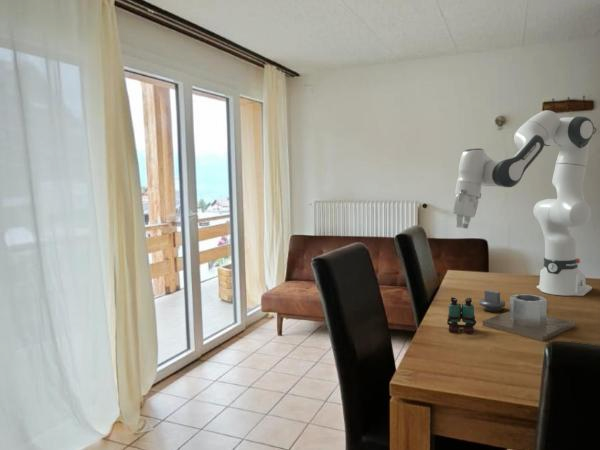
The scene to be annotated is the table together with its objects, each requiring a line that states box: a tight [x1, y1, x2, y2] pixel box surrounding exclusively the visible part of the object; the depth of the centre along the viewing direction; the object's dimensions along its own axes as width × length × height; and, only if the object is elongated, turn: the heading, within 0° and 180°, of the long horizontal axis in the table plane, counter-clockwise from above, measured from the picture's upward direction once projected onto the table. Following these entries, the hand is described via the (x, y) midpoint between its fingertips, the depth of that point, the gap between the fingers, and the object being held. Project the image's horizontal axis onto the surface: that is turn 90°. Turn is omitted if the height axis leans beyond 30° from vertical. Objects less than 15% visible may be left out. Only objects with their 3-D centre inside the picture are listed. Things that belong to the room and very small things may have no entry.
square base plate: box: [482, 293, 576, 342], centre depth 148 cm, size 20×20×10 cm
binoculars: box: [446, 297, 477, 335], centre depth 146 cm, size 9×11×10 cm
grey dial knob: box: [478, 289, 506, 313], centre depth 167 cm, size 9×9×7 cm
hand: (462, 228), depth 167 cm, fingers open, 8 cm apart
